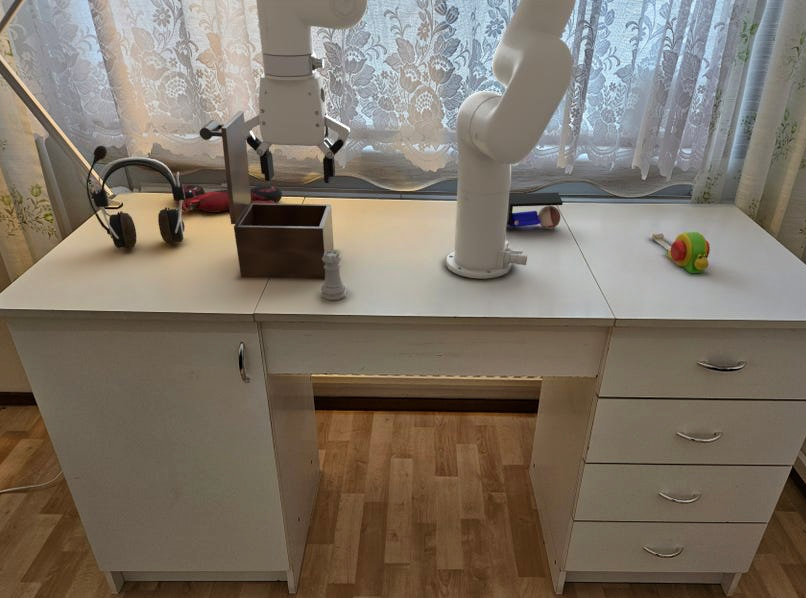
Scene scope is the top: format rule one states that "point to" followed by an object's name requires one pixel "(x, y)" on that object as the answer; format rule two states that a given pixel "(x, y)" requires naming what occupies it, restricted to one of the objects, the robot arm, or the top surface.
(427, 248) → the top surface
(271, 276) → the toy chest
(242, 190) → the box lid
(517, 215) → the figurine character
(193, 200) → the toy motorcycle
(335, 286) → the rook chess piece
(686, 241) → the toy measuring tape
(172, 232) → the headset
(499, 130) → the robot arm
